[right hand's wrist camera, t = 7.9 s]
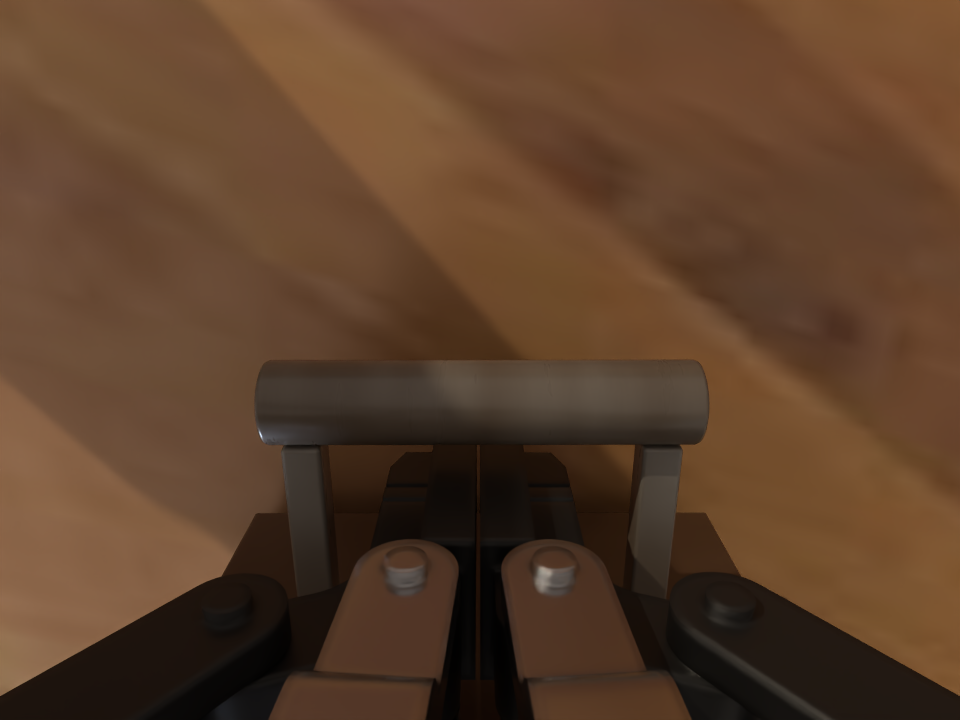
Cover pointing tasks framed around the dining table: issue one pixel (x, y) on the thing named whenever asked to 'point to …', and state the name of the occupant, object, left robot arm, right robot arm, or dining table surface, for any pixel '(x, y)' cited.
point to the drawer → (481, 421)
